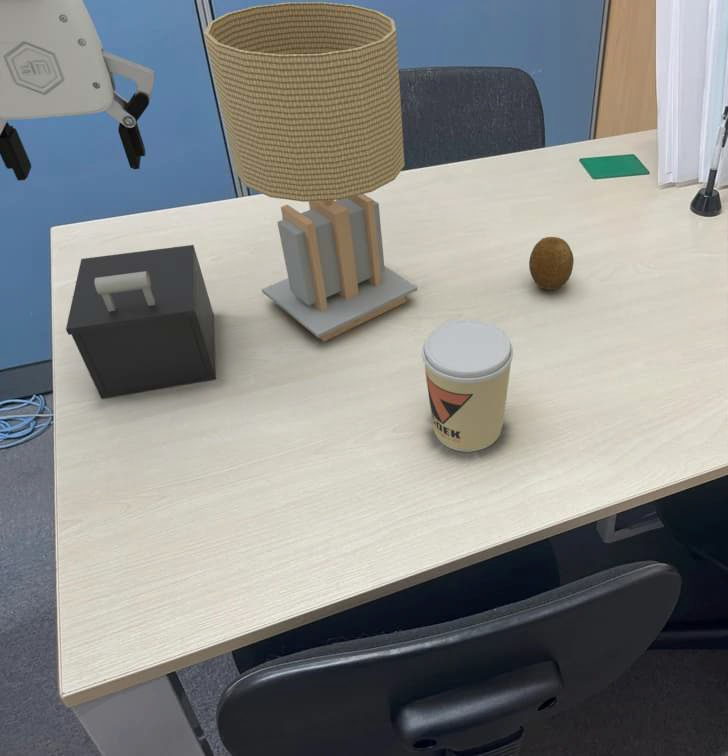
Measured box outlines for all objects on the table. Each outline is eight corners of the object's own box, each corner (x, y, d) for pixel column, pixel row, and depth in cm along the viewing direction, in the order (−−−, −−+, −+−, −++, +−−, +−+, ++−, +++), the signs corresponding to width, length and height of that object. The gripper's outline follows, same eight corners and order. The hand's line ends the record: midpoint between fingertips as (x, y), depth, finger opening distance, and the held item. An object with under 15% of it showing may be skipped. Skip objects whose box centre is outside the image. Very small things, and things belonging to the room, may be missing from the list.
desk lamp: (358, 250, 108) (328, -7, 85) (442, 306, 98) (434, 31, 75) (241, 299, 97) (170, 21, 74) (321, 367, 87) (268, 70, 64)
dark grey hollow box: (216, 379, 85) (195, 312, 79) (101, 399, 82) (69, 331, 75) (213, 314, 95) (195, 250, 88) (110, 329, 91) (83, 264, 85)
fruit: (536, 271, 105) (540, 223, 100) (576, 281, 103) (582, 233, 98) (521, 293, 101) (524, 243, 96) (562, 304, 99) (567, 254, 94)
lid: (195, 316, 78) (183, 279, 75) (68, 335, 75) (50, 297, 72) (195, 250, 88) (184, 215, 85) (83, 264, 85) (68, 228, 82)
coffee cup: (410, 420, 81) (404, 337, 73) (477, 388, 85) (478, 306, 77) (457, 470, 75) (455, 386, 67) (525, 434, 80) (532, 351, 72)
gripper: (-139, -19, 52) (-31, 197, 63) (119, -28, 56) (177, 176, 67) (-108, -42, 57) (-13, 161, 68) (125, -48, 61) (178, 144, 73)
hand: (81, 168), depth 68 cm, fingers open, 9 cm apart
